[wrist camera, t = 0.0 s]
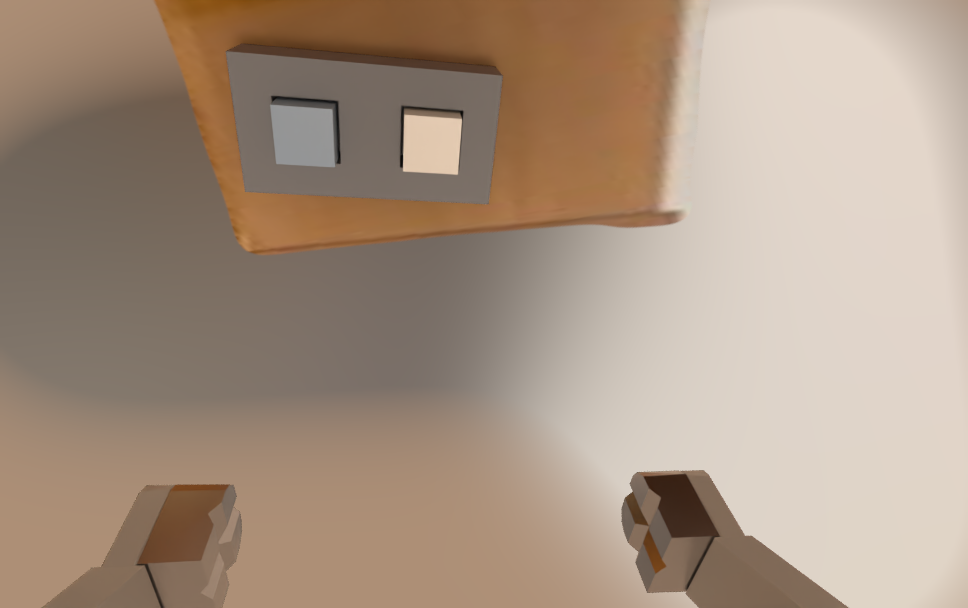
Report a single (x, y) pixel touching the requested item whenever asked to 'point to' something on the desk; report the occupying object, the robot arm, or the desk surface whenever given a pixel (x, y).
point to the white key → (431, 140)
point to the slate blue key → (305, 132)
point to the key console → (364, 121)
